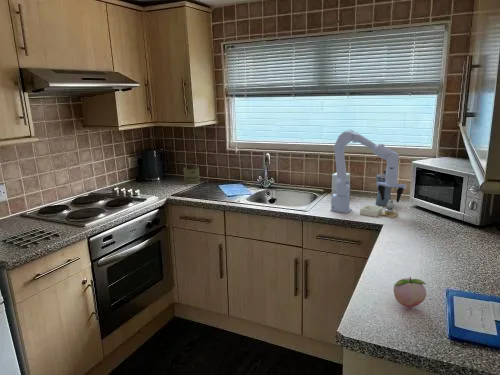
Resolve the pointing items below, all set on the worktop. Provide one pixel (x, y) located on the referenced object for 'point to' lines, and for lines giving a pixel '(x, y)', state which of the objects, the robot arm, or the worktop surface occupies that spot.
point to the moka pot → (387, 191)
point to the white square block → (334, 182)
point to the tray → (371, 210)
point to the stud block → (389, 214)
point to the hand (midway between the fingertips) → (390, 200)
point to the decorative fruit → (409, 292)
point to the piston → (191, 176)
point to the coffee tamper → (389, 206)
